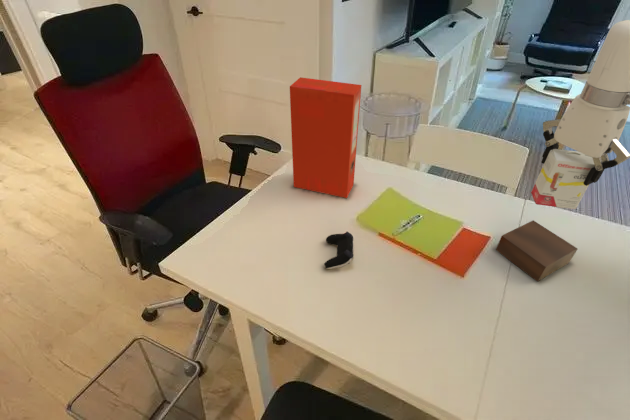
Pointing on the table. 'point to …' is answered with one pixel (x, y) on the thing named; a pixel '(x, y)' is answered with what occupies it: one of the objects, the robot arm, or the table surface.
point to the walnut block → (535, 250)
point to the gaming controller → (340, 250)
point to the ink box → (562, 179)
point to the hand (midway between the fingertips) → (566, 172)
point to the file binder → (324, 134)
